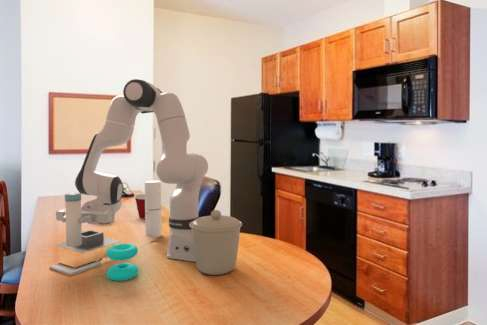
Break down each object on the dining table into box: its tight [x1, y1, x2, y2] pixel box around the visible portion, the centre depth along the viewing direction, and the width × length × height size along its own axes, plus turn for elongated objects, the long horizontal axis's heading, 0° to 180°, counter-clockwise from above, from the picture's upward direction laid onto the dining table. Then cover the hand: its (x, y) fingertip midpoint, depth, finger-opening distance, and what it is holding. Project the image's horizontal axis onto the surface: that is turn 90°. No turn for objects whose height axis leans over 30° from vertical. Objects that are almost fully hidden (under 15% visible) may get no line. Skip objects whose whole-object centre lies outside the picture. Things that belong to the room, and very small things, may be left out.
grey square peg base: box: [56, 229, 121, 254], centre depth 153 cm, size 18×18×6 cm
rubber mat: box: [48, 260, 102, 276], centre depth 131 cm, size 12×12×1 cm
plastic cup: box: [134, 193, 145, 219], centre depth 206 cm, size 11×11×12 cm
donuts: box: [105, 243, 139, 282], centre depth 122 cm, size 10×10×10 cm
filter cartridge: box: [64, 192, 83, 247], centre depth 130 cm, size 5×5×18 cm
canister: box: [190, 209, 243, 276], centre depth 128 cm, size 18×18×21 cm
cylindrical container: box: [144, 180, 162, 238], centre depth 169 cm, size 7×7×25 cm
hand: (72, 220), depth 129 cm, fingers closed on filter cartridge, 5 cm apart
